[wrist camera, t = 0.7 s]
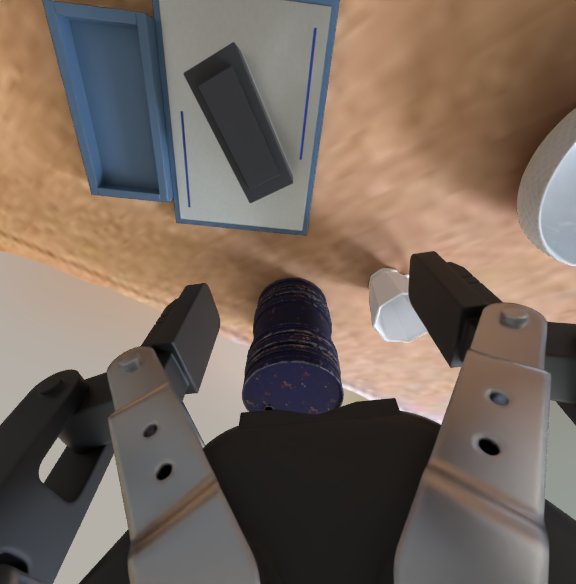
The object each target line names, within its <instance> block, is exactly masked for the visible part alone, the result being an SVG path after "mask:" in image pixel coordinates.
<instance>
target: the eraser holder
mask: <svg viewBox="0 0 576 584" xmlns="http://www.w3.org/2000/svg"><path fill="white" fill-rule="evenodd" d="M42 1H43V5H44V9H45V13H46V17H47V21H48V25H49V29H50V33H51V37H52V41H53V45H54V49H55V52H56V56H57V60H58V64H59V68H60V72H61V76H62V80H63V84H64V88H65V92H66V96H67V100H68V104H69V108H70V111H71V115H72V119H73V123H74V127H75V131H76V135H77V139H78V143H79V147H80V151H81V155H82V159H83V163H84V167H85V170H86V174H87V178H88V182H89V186H90V190H91V194H92V195H100V196H109V197H119V198H129V199H138V200H148V201H158V202H160V201H161V202H169V201H171V200H172V199H173V198H174V197H173V187H172V178H171V169H170V160H169V150H168V141H167V132H166V123H165V113H164V104H163V95H162V86H161V76H160V67H159V58H158V48H157V39H156V30H155V21H154V19H153V18H152V17H150V16H149V15H148V14H146V13H143V12H135V11H128V10H120V9H112V8H105V7H97V6H90V5H82V4H74V3H67V2H59V1H52V0H42Z"/></svg>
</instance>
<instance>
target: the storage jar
mask: <svg viewBox="0 0 576 584" xmlns="http://www.w3.org/2000/svg"><path fill="white" fill-rule="evenodd" d="M331 333H332V323H331V319H330V314H329V310H328V307H327V303H326V299H325V296H324V294H323V293H322V291H321V290H320V289H319V288H318V287H317V286H316V285H315V284H313V283H311V282H309V281H307V280H304V279H300V278H285V279H280V280H278V281H275V282H273V283H271V284H270V285H269V286H267V287H266V288H265V289H264V290H263V292H262V293H261V295H260V297H259V300H258V305H257V309H256V312H255V317H254V324H253V335H254V339H253V342H252V344H251V346H250V349H249V351H248V355H247V362H246V367H245V378H244V385H243V390H242V400H243V403H244V405H245V407H246V409H247V410H248V411H249V412H254V411H265V410H275V409H279V410H285V411H292V412H299V413H306V414H313V415H317V414H322V413H324V412H327V411H330V410H333V409H336V408H339V407H341V405H342V402H343V395H344V394H343V388H342V383H341V377H340V376H341V371H340V366H339V361H338V354H337V350H336V348H335V346H334V344H333V342H332V340H331Z"/></svg>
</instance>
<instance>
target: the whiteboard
mask: <svg viewBox="0 0 576 584" xmlns="http://www.w3.org/2000/svg"><path fill="white" fill-rule="evenodd" d="M152 2H153V11H154V21H155V30H156V39H157V48H158V58H159V67H160V76H161V86H162V95H163V104H164V113H165V123H166V132H167V141H168V150H169V160H170V169H171V178H172V187H173V197H174V206H175V215H176V223H183V224H193V225H203V226H213V227H223V228H233V229H243V230H253V231H263V232H274V233H284V234H294V235H304V236H307V229H308V222H309V215H310V208H311V201H312V194H313V187H314V180H315V173H316V166H317V158H318V151H319V144H320V137H321V130H322V123H323V116H324V109H325V102H326V95H327V88H328V80H329V73H330V66H331V59H332V52H333V45H334V38H335V31H336V24H337V17H338V10H339V2H340V0H152ZM232 42H234V43H235V44H236V45H237V46H238V48H239V49H240V50H241V51H242V53H243V56H244V58H245V60H246V63H247V65H248V68H249V70H250V73H251V75H252V77H253V80H254V82H255V85H256V87H257V89H258V92H259V94H260V97H261V99H262V102H263V104H264V106H265V109H266V111H267V114H268V116H269V118H270V121H271V123H272V126H273V128H274V131H275V133H276V135H277V138H278V140H279V143H280V145H281V147H282V150H283V152H284V155H285V157H286V159H287V162H288V164H289V167H290V169H291V172H292V174H293V184H291V185H289V186H287V187H285V188H282V189H280V190H278V191H276V192H274V193H272V194H270V195H268V196H265V197H263V198H261V199H259V200H257V201H255V202H253V203H249V201H248V199H247V197H246V195H245V193H244V191H243V190H242V188H241V186H240V184H239V182H238V180H237V178H236V176H235V174H234V172H233V170H232V168H231V166H230V164H229V162H228V160H227V158H226V156H225V154H224V152H223V151H222V149H221V147H220V145H219V143H218V141H217V139H216V137H215V135H214V133H213V131H212V129H211V127H210V125H209V123H208V121H207V119H206V117H205V115H204V114H203V112H202V110H201V108H200V106H199V104H198V102H197V100H196V98H195V96H194V94H193V92H192V90H191V88H190V86H189V84H188V82H187V80H186V78H185V77H184V74H183V73H184V72H186V71H187V70H189V69H191V68H192V67H194V66H195V65H197V64H199V63H200V62H202V61H203V60H205V59H207V58H208V57H210V56H211V55H213V54H215V53H216V52H218V51H219V50H221V49H223V48H224V47H226V46H228V45H229V44H231V43H232Z"/></svg>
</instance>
